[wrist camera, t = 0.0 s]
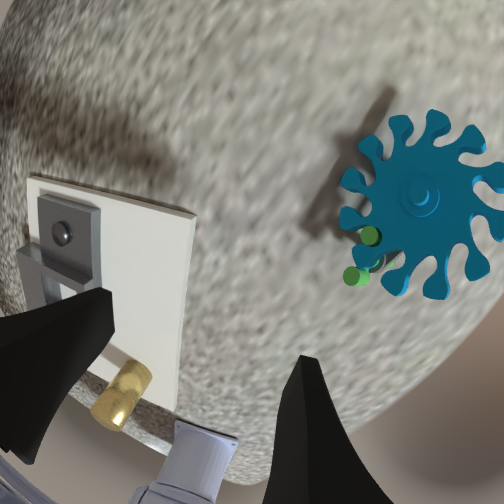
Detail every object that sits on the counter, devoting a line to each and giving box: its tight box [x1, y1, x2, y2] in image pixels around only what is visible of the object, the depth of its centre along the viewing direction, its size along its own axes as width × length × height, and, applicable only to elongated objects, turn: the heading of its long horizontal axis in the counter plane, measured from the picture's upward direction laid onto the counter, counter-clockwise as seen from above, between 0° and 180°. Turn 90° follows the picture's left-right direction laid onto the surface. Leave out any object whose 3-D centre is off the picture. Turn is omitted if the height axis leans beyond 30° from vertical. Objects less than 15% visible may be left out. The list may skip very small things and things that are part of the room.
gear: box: [339, 109, 504, 300], centre depth 14 cm, size 11×6×10 cm
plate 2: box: [16, 242, 94, 310], centre depth 22 cm, size 7×10×2 cm
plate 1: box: [37, 194, 102, 303], centre depth 21 cm, size 12×7×2 cm, turn 167°
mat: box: [27, 176, 197, 412], centre depth 23 cm, size 22×18×1 cm
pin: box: [90, 360, 153, 432], centre depth 22 cm, size 3×3×7 cm
